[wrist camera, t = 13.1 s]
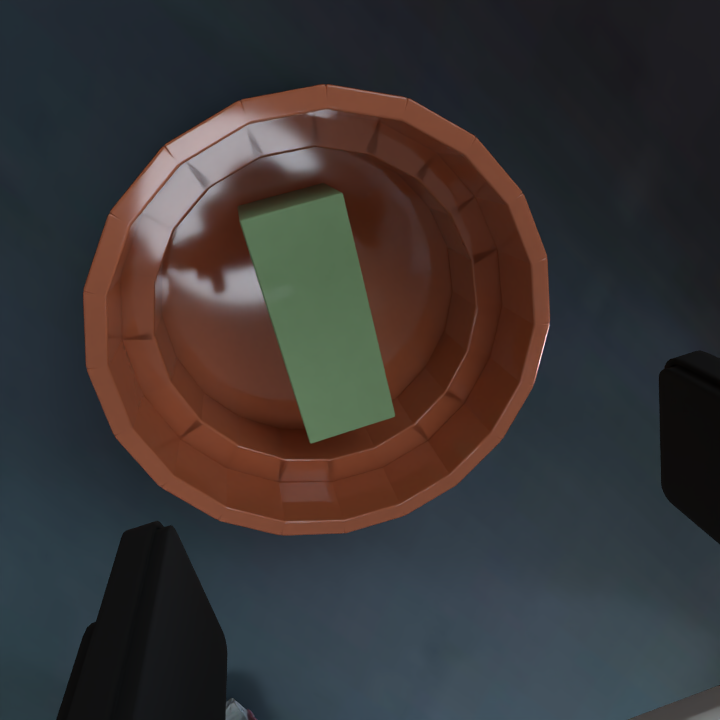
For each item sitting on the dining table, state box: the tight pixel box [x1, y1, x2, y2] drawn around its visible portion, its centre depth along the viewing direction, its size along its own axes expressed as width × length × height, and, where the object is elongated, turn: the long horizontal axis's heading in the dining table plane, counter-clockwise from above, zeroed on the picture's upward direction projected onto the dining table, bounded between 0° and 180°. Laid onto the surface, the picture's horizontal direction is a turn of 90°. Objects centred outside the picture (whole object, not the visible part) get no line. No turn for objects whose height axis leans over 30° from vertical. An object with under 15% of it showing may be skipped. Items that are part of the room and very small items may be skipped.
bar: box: [238, 183, 395, 443], centre depth 20 cm, size 8×3×4 cm, turn 13°
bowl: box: [83, 84, 550, 535], centre depth 20 cm, size 14×14×6 cm
